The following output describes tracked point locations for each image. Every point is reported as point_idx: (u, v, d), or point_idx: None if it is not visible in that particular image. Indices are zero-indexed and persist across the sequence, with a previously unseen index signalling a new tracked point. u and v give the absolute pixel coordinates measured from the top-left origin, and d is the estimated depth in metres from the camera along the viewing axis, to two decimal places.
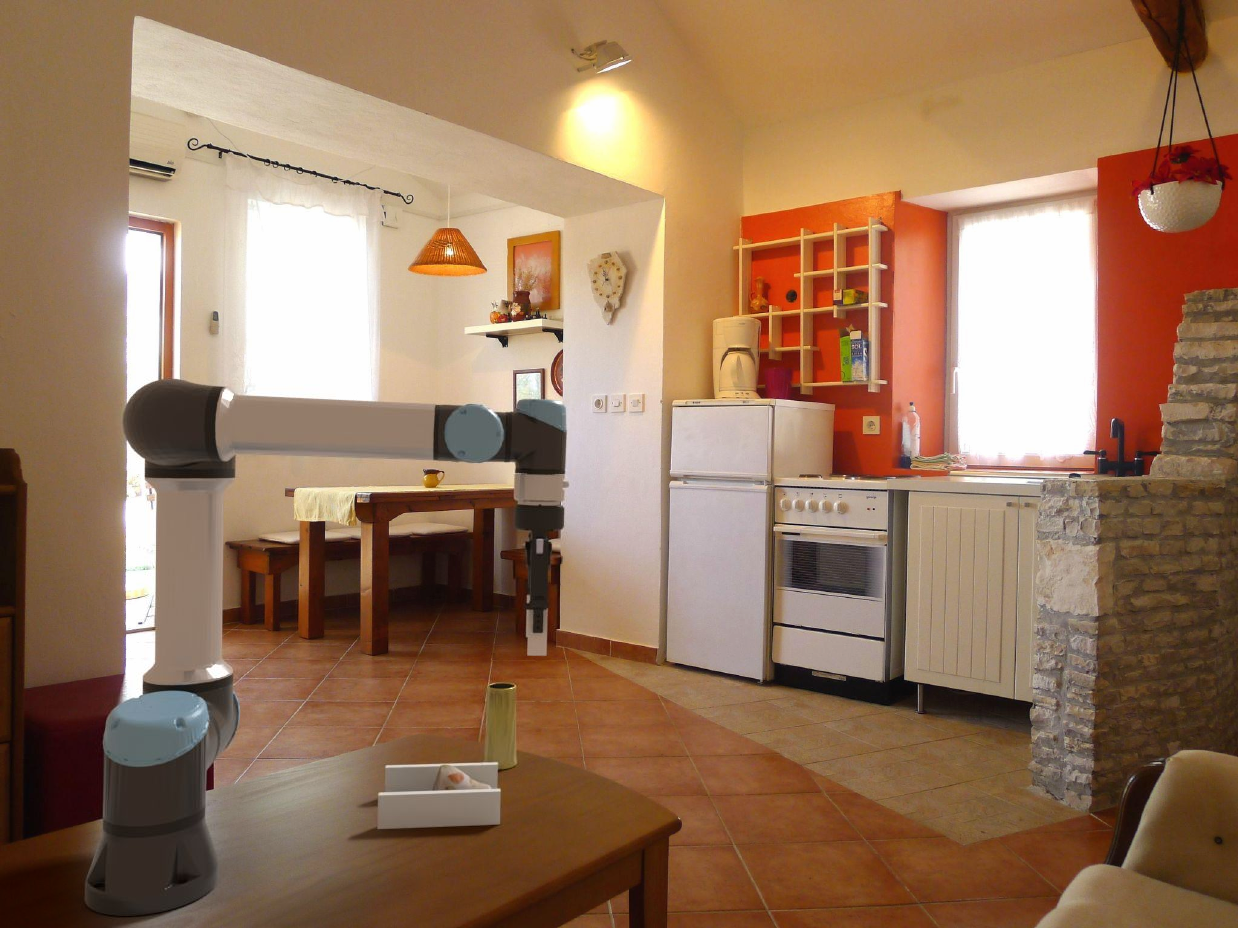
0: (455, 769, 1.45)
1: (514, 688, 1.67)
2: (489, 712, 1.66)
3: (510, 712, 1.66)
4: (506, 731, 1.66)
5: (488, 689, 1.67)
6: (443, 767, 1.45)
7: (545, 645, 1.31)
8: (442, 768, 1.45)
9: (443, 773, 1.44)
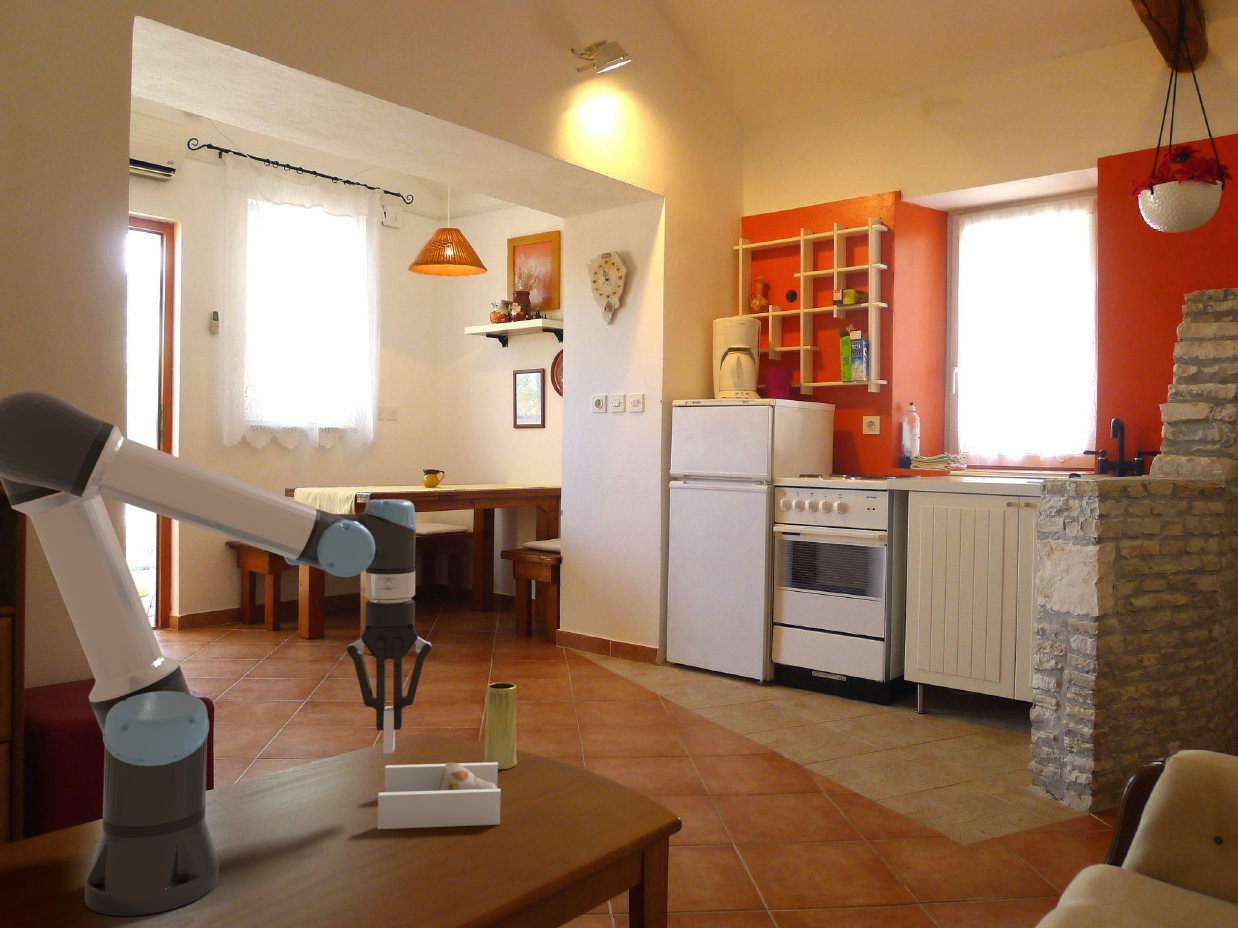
0: (460, 767, 1.46)
1: (514, 688, 1.67)
2: (489, 712, 1.66)
3: (510, 712, 1.66)
4: (506, 731, 1.66)
5: (488, 689, 1.67)
6: (448, 765, 1.46)
7: None
8: (447, 765, 1.46)
9: (447, 770, 1.45)
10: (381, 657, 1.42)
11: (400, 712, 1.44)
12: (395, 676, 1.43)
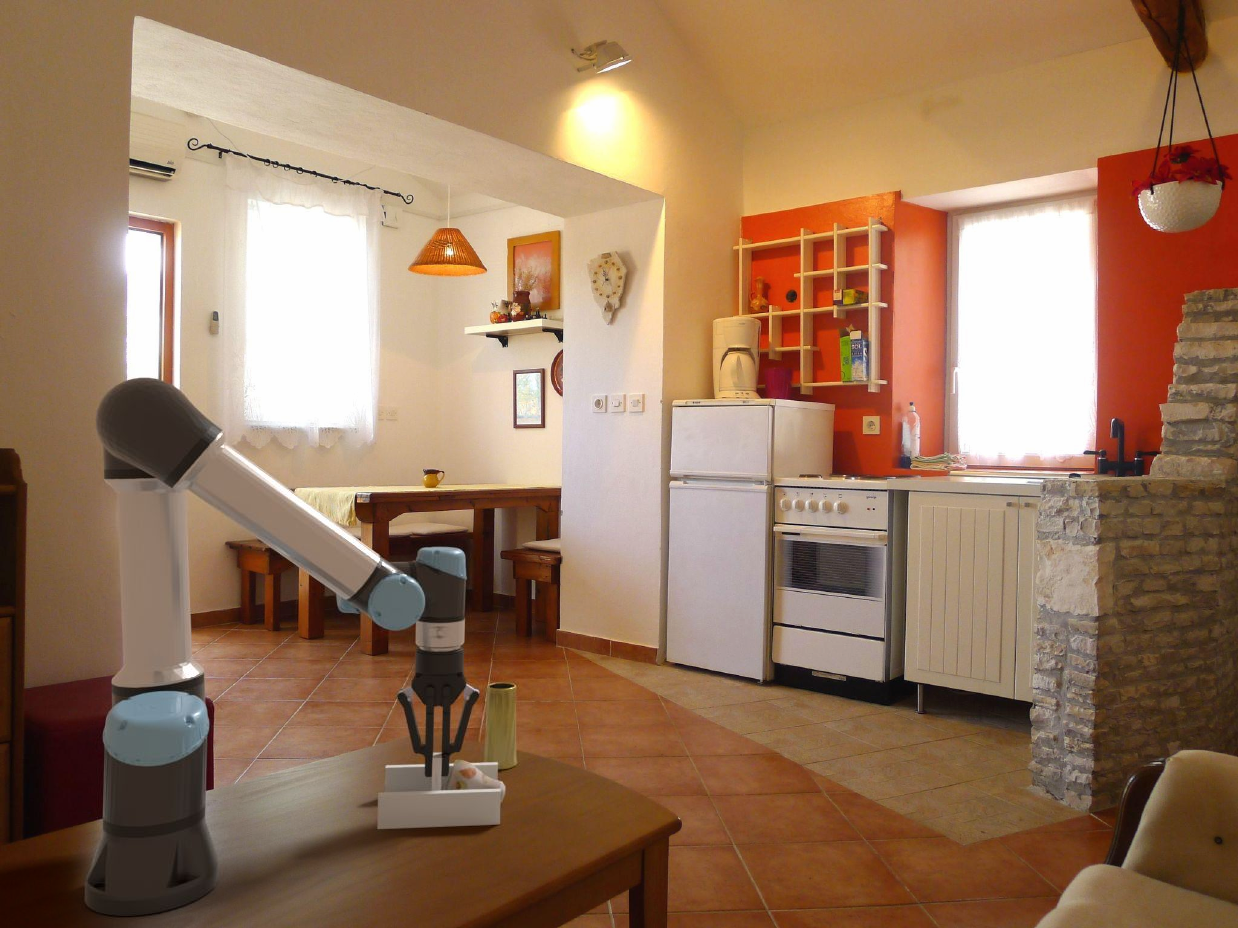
0: (468, 764, 1.47)
1: (514, 688, 1.67)
2: (489, 712, 1.66)
3: (510, 712, 1.66)
4: (506, 731, 1.66)
5: (488, 689, 1.67)
6: (456, 762, 1.47)
7: None
8: (455, 763, 1.47)
9: (455, 767, 1.46)
10: (431, 704, 1.44)
11: (448, 759, 1.45)
12: (444, 723, 1.44)
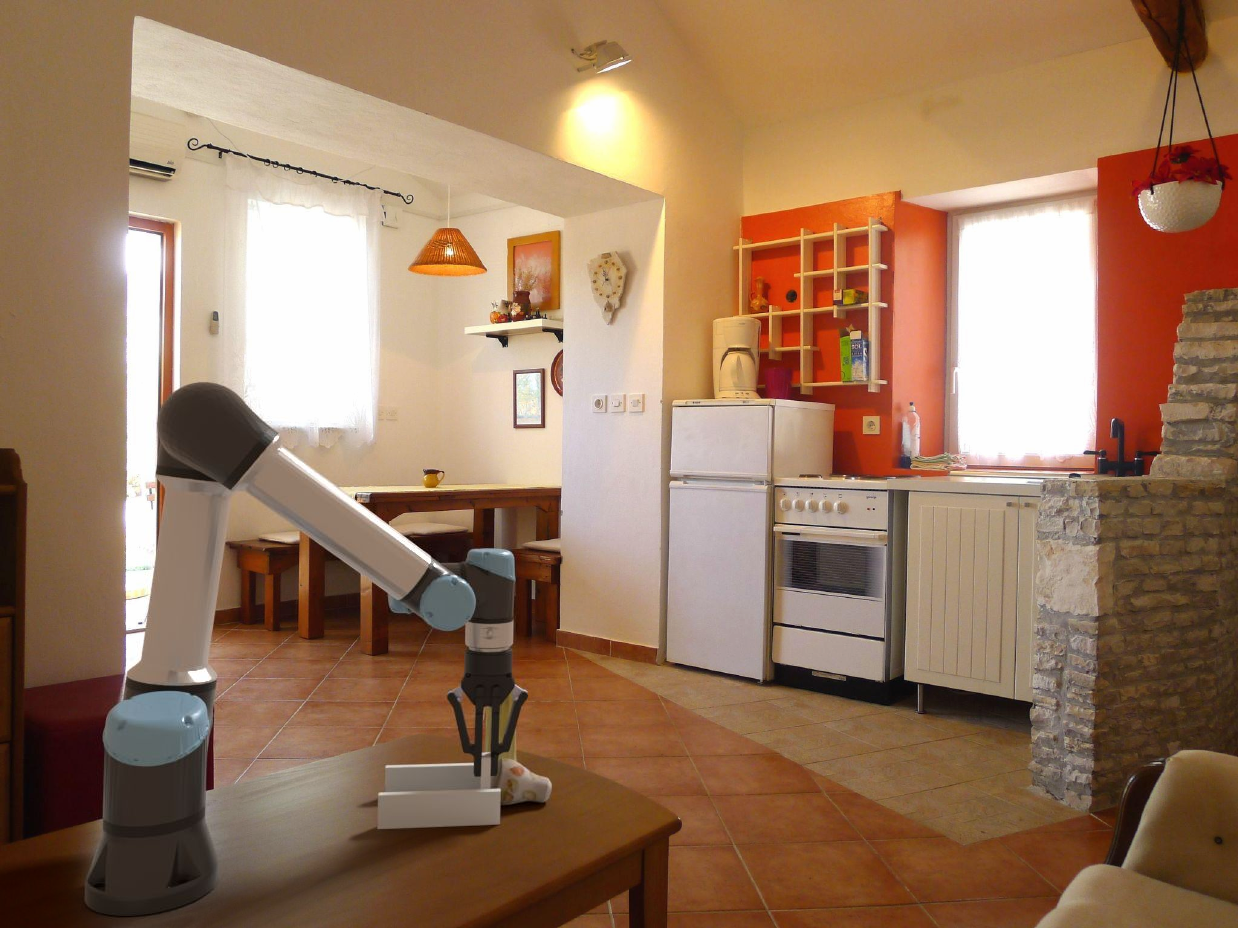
0: (515, 762, 1.49)
1: None
2: (489, 712, 1.66)
3: None
4: None
5: None
6: (504, 760, 1.48)
7: None
8: (503, 761, 1.48)
9: (504, 766, 1.47)
10: (480, 705, 1.45)
11: (497, 759, 1.46)
12: (493, 723, 1.46)
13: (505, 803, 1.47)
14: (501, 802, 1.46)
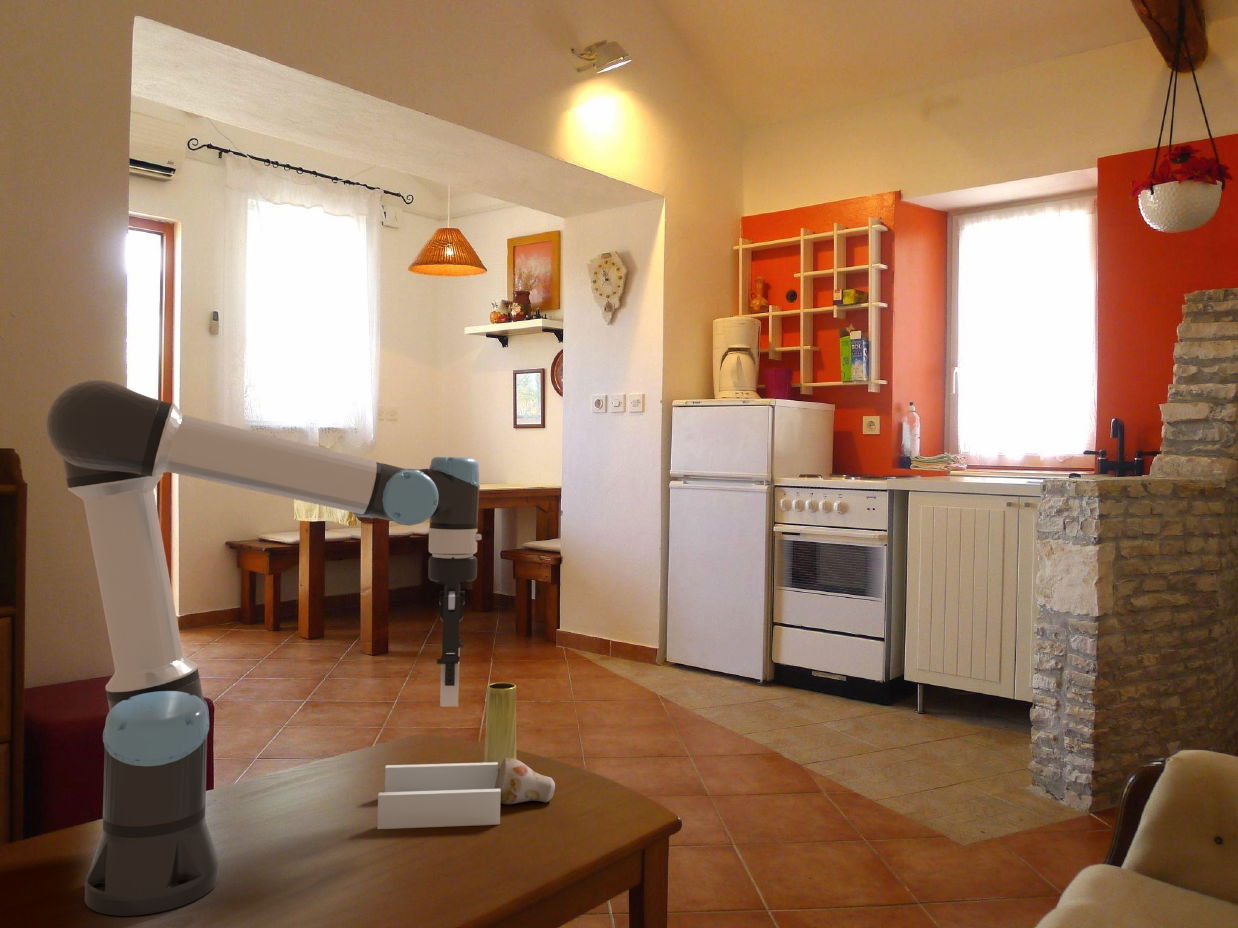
0: (519, 762, 1.50)
1: (514, 688, 1.67)
2: (489, 712, 1.66)
3: (510, 712, 1.66)
4: (506, 731, 1.66)
5: (488, 689, 1.67)
6: (508, 760, 1.49)
7: (456, 696, 1.40)
8: (507, 761, 1.49)
9: (507, 765, 1.48)
10: None
11: None
12: None
13: (508, 802, 1.47)
14: (504, 801, 1.47)
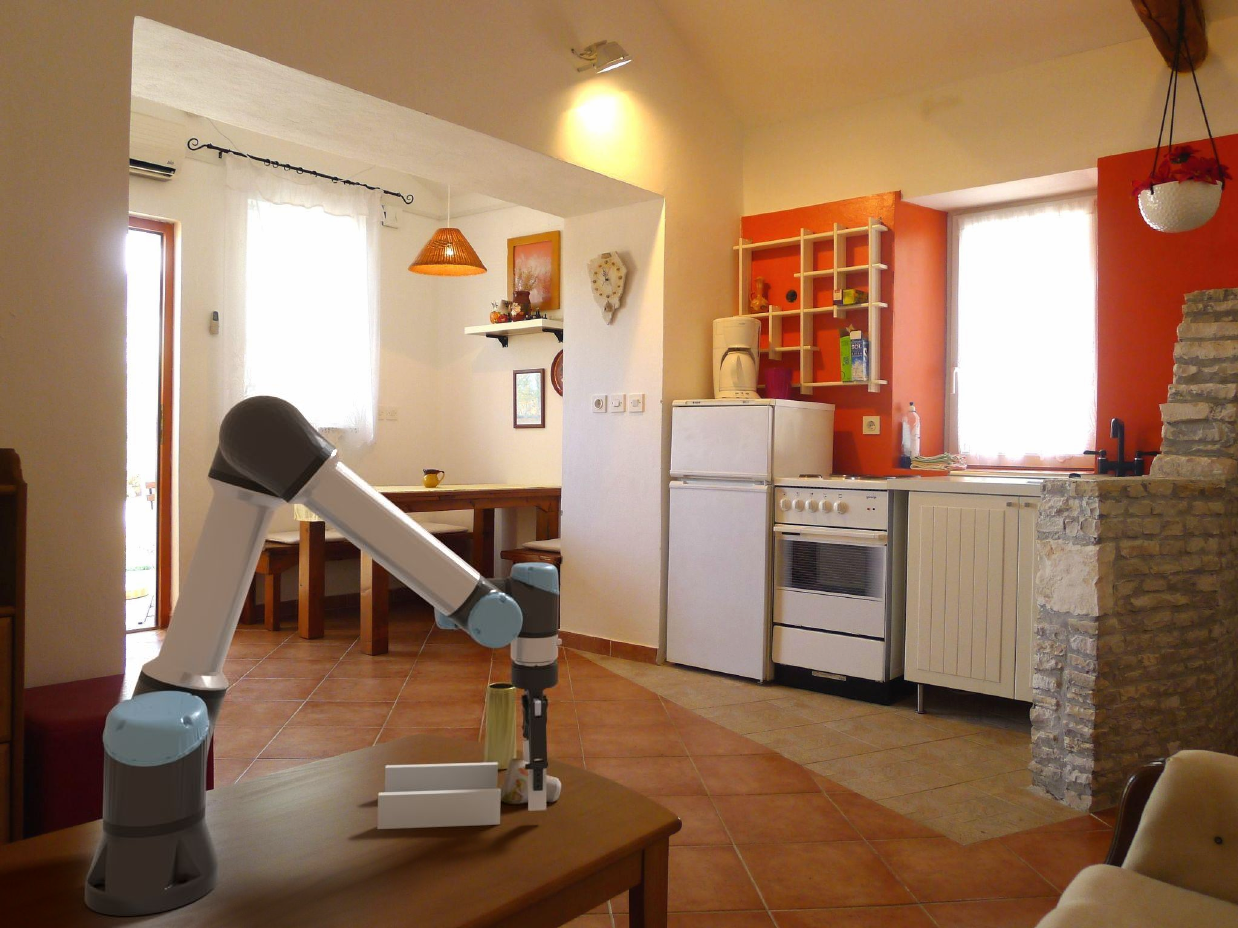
0: (525, 762, 1.51)
1: (514, 688, 1.67)
2: (489, 712, 1.66)
3: (510, 712, 1.66)
4: (506, 731, 1.66)
5: (488, 689, 1.67)
6: (514, 760, 1.50)
7: (544, 800, 1.41)
8: (512, 761, 1.50)
9: (513, 766, 1.49)
10: None
11: None
12: None
13: (514, 802, 1.49)
14: (510, 801, 1.48)
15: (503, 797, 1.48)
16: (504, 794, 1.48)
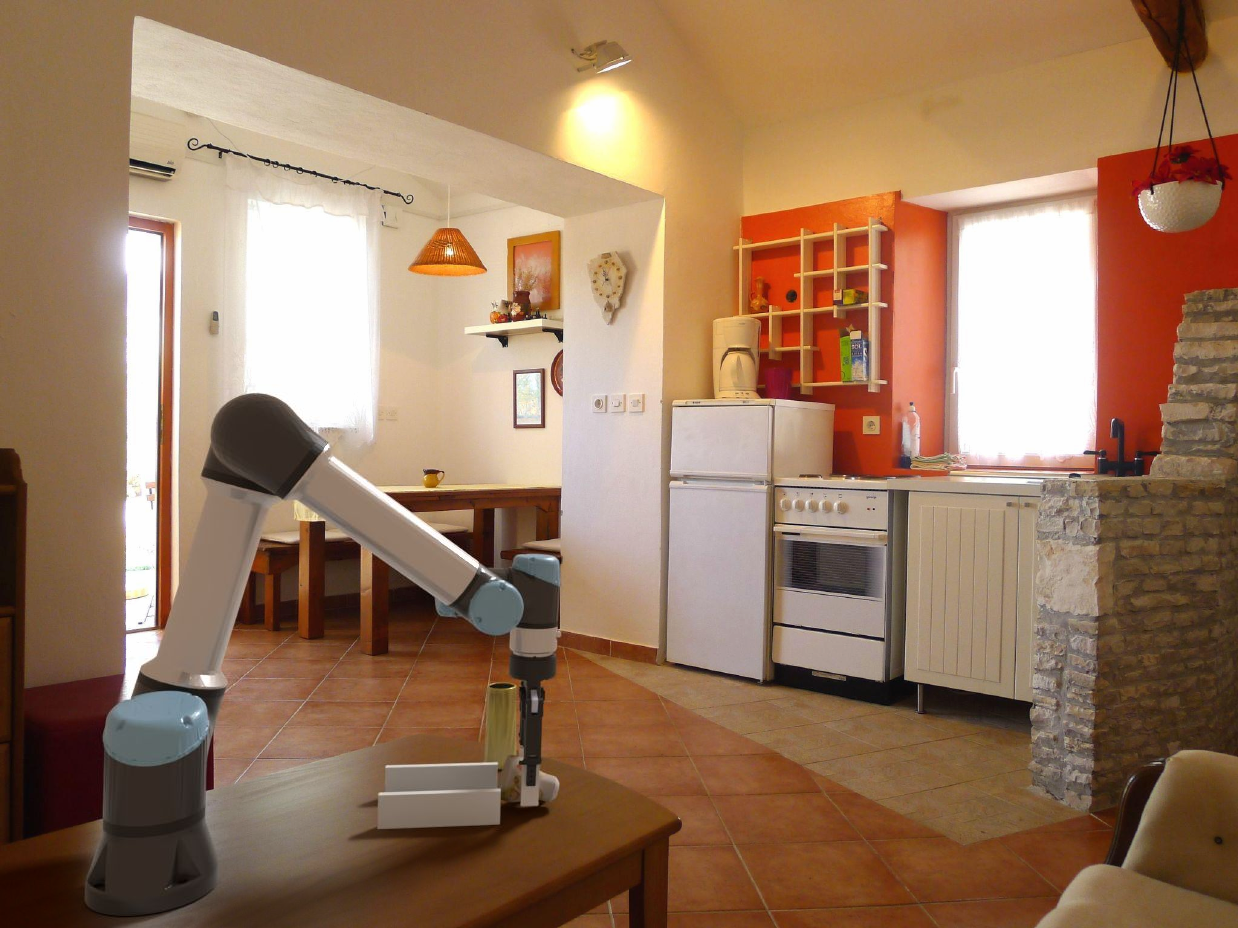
0: None
1: (514, 688, 1.67)
2: (489, 712, 1.66)
3: (510, 712, 1.66)
4: (506, 731, 1.66)
5: (488, 689, 1.67)
6: (512, 757, 1.46)
7: (537, 796, 1.44)
8: (511, 758, 1.46)
9: (511, 762, 1.45)
10: None
11: None
12: None
13: (511, 800, 1.45)
14: (507, 799, 1.44)
15: None
16: (501, 791, 1.44)
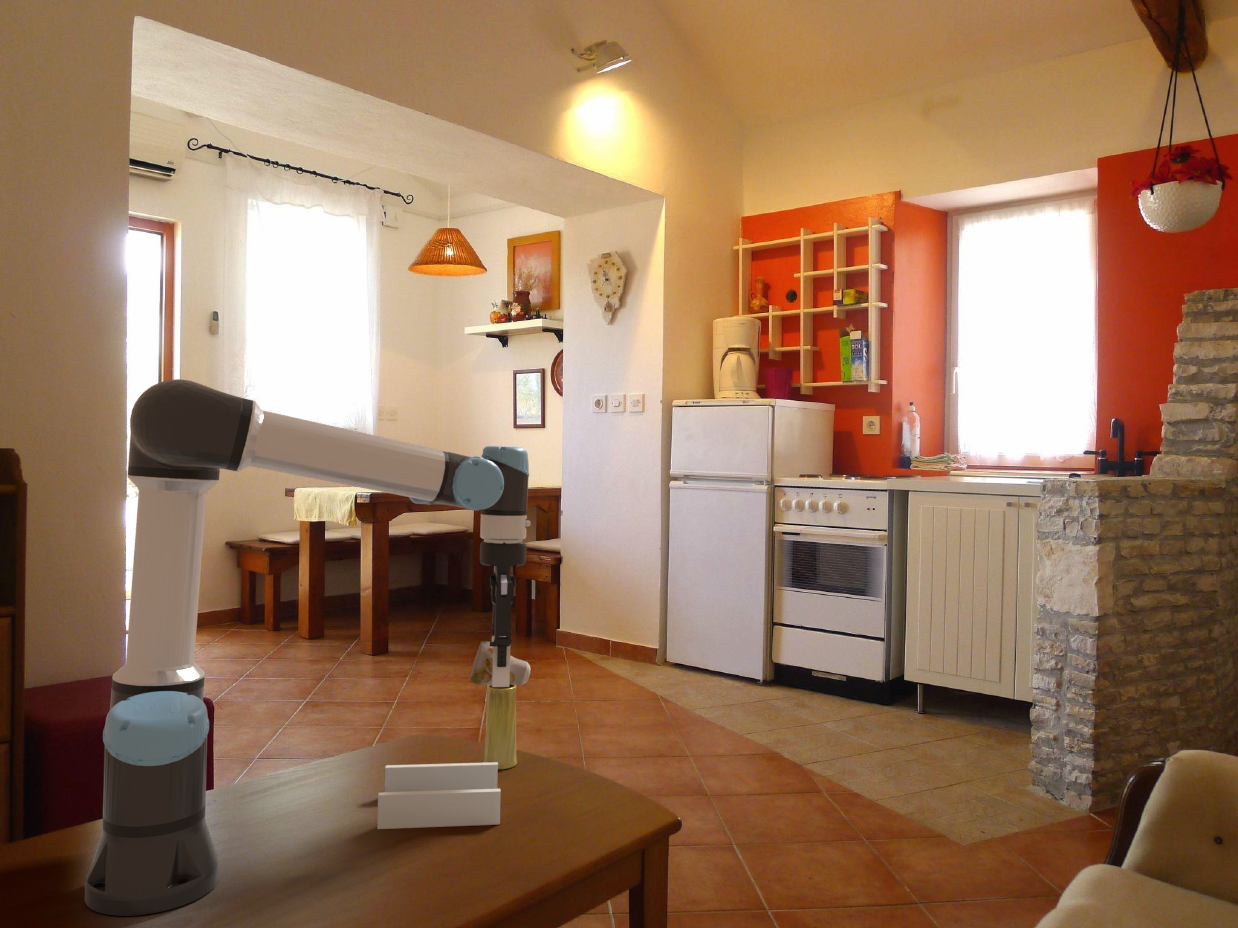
0: None
1: (514, 688, 1.67)
2: (489, 712, 1.66)
3: (510, 712, 1.66)
4: (506, 731, 1.66)
5: (488, 689, 1.67)
6: (484, 642, 1.51)
7: (508, 677, 1.48)
8: (483, 642, 1.50)
9: (483, 646, 1.49)
10: None
11: None
12: None
13: (483, 683, 1.49)
14: (479, 681, 1.49)
15: (472, 676, 1.48)
16: (473, 673, 1.48)
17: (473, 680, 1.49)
